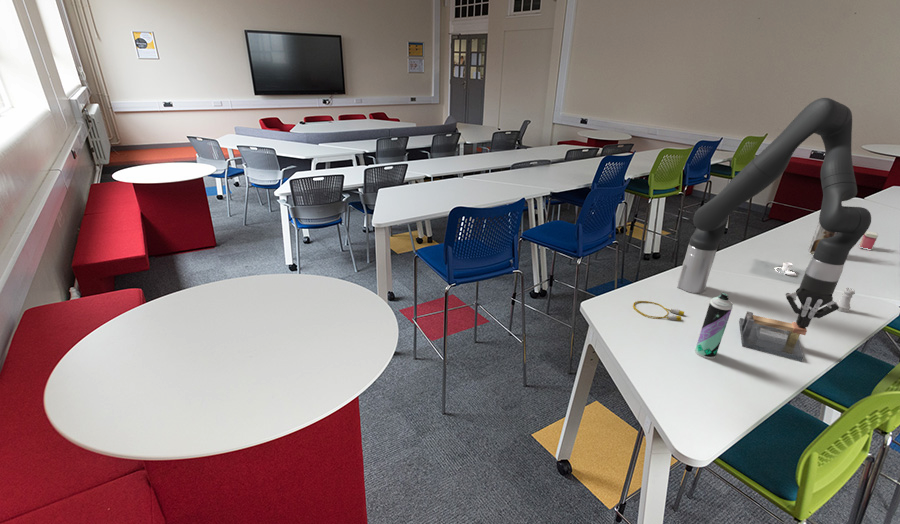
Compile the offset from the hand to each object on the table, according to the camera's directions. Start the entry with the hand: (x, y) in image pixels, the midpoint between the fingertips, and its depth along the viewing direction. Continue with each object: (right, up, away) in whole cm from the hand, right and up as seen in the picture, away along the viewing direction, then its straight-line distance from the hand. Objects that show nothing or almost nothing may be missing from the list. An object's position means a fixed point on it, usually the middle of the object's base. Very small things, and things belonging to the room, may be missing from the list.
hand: (801, 326), depth 133 cm
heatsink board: (-6, -5, +6) cm, 9 cm away
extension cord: (-34, +2, +20) cm, 39 cm away
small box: (+94, +26, +80) cm, 126 cm away
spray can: (-30, -8, -2) cm, 31 cm away
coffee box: (+66, +23, +72) cm, 100 cm away
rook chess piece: (+34, +2, +25) cm, 42 cm away
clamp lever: (-6, 0, +3) cm, 7 cm away
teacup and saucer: (+33, +15, +52) cm, 63 cm away
